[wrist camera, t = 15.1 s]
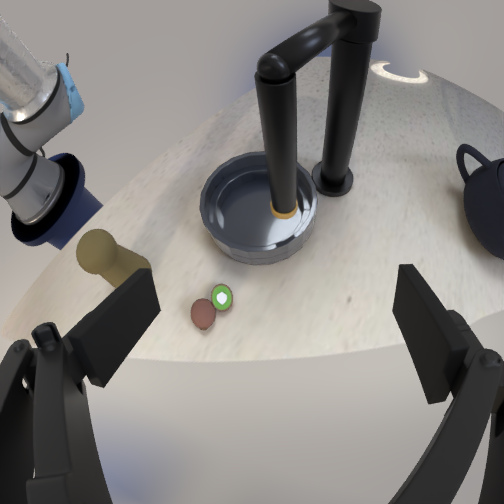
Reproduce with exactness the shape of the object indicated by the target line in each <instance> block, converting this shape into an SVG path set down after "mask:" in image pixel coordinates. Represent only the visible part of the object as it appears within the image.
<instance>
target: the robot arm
mask: <svg viewBox="0 0 504 504" xmlns="http://www.w3.org/2000/svg"><path fill="white" fill-rule="evenodd" d="M68 61H69V55H68V53H67V63H66V65H65V63H60V64H57V65H55V66H54V65H53V64H52V63H50V62H47V61H41V62H38V60H37V59H36V58H35V57H34V56H33V55H32V53H31V52H30V51H29V50H28V49H27V47H26V46H25V45H24V44H23V42H22V41H21V40H20V39H19V38H18V36H17V35H16V34H15V33H14V31H13V30H12V29H11V28H10V27H9V25H8V24H7V23H6V22H5V20H4V19H3V18H2V17H1V15H0V103H2V104H3V112H2V113H0V196H2V197H3V198H4V199H5V200H6V201H7V202H8V204H9V205H10V207H11V208H12V210H13V211H14V212H15V215H16V216H17V217H16V218H17V219H18V220H19V221H21V222H23V223H24V224H26V225H35V224H37V223H39V222H40V221H42V220H43V219H44V218H45V217H46V216H47V215H48V214H49V213H50V212H51V211H52V210H53V208H54V207H55V205H56V204H57V202H58V200H59V199H60V197H61V195H62V192H63V190H64V186H65V182H66V173H65V171H64V169H63V168H62V167H61V166H60V165H59V164H58V163H56V162H54V161H50V160H48V159H46V158H45V152H44V150H43V149H42V146H43V145H44V144H45V143H47V142H48V141H49V140H50V139H51V138H53V137H54V136H55V135H56V134H57V133H59V132H60V131H61V130H63V129H64V128H65V127H67V126H68V125H69V124H71V123H72V122H73V120H75V119H76V118H77V117H78V116H79V115H81V114H82V112H83V110H84V104H83V101H82V99H81V97H80V95H79V93H78V91H77V89H76V87H75V84H74V82H73V80H72V78H71V76H70V74H69V71H68V69H67V67H68ZM38 149H39V150H40V151H41V153H42V156H39V155H38V154H36V151H37V150H38ZM160 311H161V309H160V305H159V302H158V298H157V294H156V290H155V286H154V281H153V277H152V273H151V269H150V268H139V269H138V270H136V271H135V272H134V273H133V274H132V275H131V276H130V277H129V278H127V279H126V280H125V281H124V282H123V283H122V284H121V285H120V286H119V287H118V288H116V289H115V290H114V291H113V292H112V293H111V294H110V295H109V296H108V297H107V298H106V299H105V300H103V301H102V302H101V303H100V304H99V305H98V306H97V307H96V308H95V309H94V310H93V311H91V312H89V313H88V314H86V315H85V316H84V317H83V318H82V320H80V321H79V322H78V323H77V325H75V326H74V327H73V328H72V329H71V330H70V331H69V332H68V333H67V334H66V335H65V336H64V337H63V338H61V336H60V334H59V332H58V329H57V327H56V325H55V324H54V323H53V322H47V323H43V324H41V325H39V326H37V327H36V328H35V329H34V330H33V331H32V333H31V335H32V337H33V339H34V341H35V343H36V345H37V347H38V348H32V347H31V345H30V343H29V341H28V340H26V339H22V340H17V341H15V342H14V343H13V344H12V345H11V346H10V348H9V349H8V351H7V353H6V355H5V356H4V358H3V360H2V362H1V364H0V504H113V503H112V500H111V498H110V494H109V491H108V488H107V484H106V481H105V478H104V474H103V471H102V467H101V463H100V460H99V455H98V451H97V447H96V443H95V438H94V434H93V429H92V424H91V419H90V413H89V407H88V400H87V394H86V386H85V384H84V382H83V378H84V377H85V376H86V375H87V377H88V379H89V381H90V383H91V384H92V385H96V386H99V387H103V388H104V387H105V386H106V384H107V383H108V382H109V380H110V379H111V377H112V376H113V374H114V373H115V372H116V370H117V369H118V368H119V366H120V365H121V364H122V362H123V361H124V359H125V358H126V357H127V355H128V354H129V353H130V351H131V350H132V349H133V347H134V346H135V344H136V343H137V342H138V340H139V339H140V338H141V336H142V335H143V334H144V332H145V331H146V330H147V328H148V327H149V326H150V324H151V323H152V322H153V320H154V319H155V318H156V316H157V315H158V314H159V312H160ZM392 312H393V314H394V316H395V319H396V321H397V323H398V326H399V328H400V330H401V333H402V335H403V337H404V340H405V342H406V345H407V347H408V350H409V352H410V355H411V357H412V360H413V363H414V365H415V368H416V371H417V373H418V376H419V379H420V381H421V384H422V387H423V390H424V393H425V396H426V399H427V402H428V404H434V403H439V402H443V401H445V400H446V399H447V396H448V395H449V393H450V391H451V393H452V395H453V400H452V402H451V404H450V406H449V408H448V409H447V411H446V413H445V415H444V418H443V420H442V422H441V424H440V426H439V428H438V430H437V431H436V433H435V435H434V437H433V439H432V440H431V442H430V444H429V445H428V447H427V449H426V450H425V452H424V454H423V455H422V457H421V458H420V460H419V462H418V463H417V465H416V466H415V468H414V469H413V471H412V472H411V474H410V475H409V476H408V478H407V480H406V481H405V482H404V484H403V485H402V486H401V488H400V489H399V490H398V492H397V493H396V494H395V496H394V497H393V498H392V500H391V501H390V502H389V503H388V504H451V502H452V500H453V499H454V497H455V495H456V493H457V491H458V490H459V488H460V486H461V484H462V482H463V480H464V478H465V476H466V474H467V472H468V470H469V467H470V465H471V463H472V461H473V459H474V456H475V454H476V452H477V449H478V447H479V444H480V442H481V439H482V436H483V434H484V431H485V428H486V425H487V423H488V420H489V417H490V413H491V415H492V416H491V429H490V440H489V448H488V456H487V463H486V469H485V475H484V480H483V485H482V490H481V494H480V498H479V502H478V504H504V361H503V359H502V358H501V356H500V355H499V354H498V353H497V352H495V351H493V350H491V349H484V348H483V346H482V345H481V343H480V342H479V340H478V339H477V337H476V336H475V334H474V333H473V331H472V330H471V328H470V327H469V325H468V324H467V322H466V321H465V320H464V318H463V317H462V316H461V315H460V314H459V313H457V312H456V311H454V310H446V309H445V307H444V306H443V305H442V303H441V302H440V300H439V299H438V297H437V296H436V295H435V293H434V292H433V291H432V289H431V288H430V286H429V285H428V284H427V282H426V281H425V280H424V278H423V277H422V276H421V274H420V273H419V272H418V270H417V269H416V268H415V267H414V265H413V264H400V265H399V270H398V278H397V285H396V292H395V298H394V304H393V310H392ZM23 379H24V380H25V382H26V383H27V387H26V388H24V386H23V384H22V380H23ZM34 467H35V478H33V473H34Z"/></svg>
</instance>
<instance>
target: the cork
mask: <svg viewBox="0 0 504 504" xmlns="http://www.w3.org/2000/svg"><path fill="white" fill-rule="evenodd" d="M76 257H77V261H78V263H79V265H80V266H81V267H82V268H83V269H84V270H85V271H86V272H88V273H91V274H100V275H101V276H102V277H103V278H104V279H105V280H107V281H108V282H109V283H110V284H111V285H113V286H114V287H115V288H118V287H119V286H120V285H121V284H122V283H123V282H124V281H125V280H126V279H127V278H129V277H130V276H131V275H132V274H133V273H134V272H135V271H136V270H138V269H139V268H150V269H151V265H150V263H149V262H148V260H147V259H145V258H144V257H143V256H140V255H138V254H136V253H134V252H132V251H130V250H128V249H126V248H124V247H122V246H120V245H118V244H117V243H116V241H115V240H114V238H113V236H112V235H111V234H110V233H108V232H107V231H105V230H102V229H94V230H90V231H88V232H86V233H85V234H84V235H83V236H82V238H81V239H80V241H79V243H78V245H77V249H76ZM151 273H152V269H151Z"/></svg>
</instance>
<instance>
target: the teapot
mask: <svg viewBox="0 0 504 504" xmlns="http://www.w3.org/2000/svg"><path fill="white" fill-rule="evenodd" d="M464 153H468V154H470V155H471V156H472V157H474V158H475V159H476V160H477V161H479V162H480V163H481V164H482V166H481V167H479V168H478V169H476V170H475V171H474V172H473V173H472V174H471V175H470V176H469V174H468V172H467V170H466V167H465V164H464ZM456 160H457V165H458V168H459V171H460V174H461V176H462V178H463V180H464V182H465V184H466V185H465V188H464V208H465V213H466V216H467V219H468V222H469V224H470V227H471V229H472V231H473V232H474V234H475V236H476V237H477V239H478V240H479V241H480V243H481V244H482V245H483V246H484V247H485V248H486V249H487V250H488V251H489V252H490V253H492V254H493V255H495V256H496V257H498V258H500V259H503V260H504V158H502V159H498V160H495V161H492V162H490V161H489V160H488V159H487V158H486V157H485V156H484V155H482V154H481V153H480V152H479V151H478V150H476V149H475V148H473V147H472V146H470V145H468V144H462V145H460V147H459V148H458V150H457V154H456Z"/></svg>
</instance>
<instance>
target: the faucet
mask: <svg viewBox="0 0 504 504" xmlns="http://www.w3.org/2000/svg"><path fill="white" fill-rule="evenodd" d="M371 49H372V42H371V43H356V42H351V41H347V40H343V39H338V40H337V41H336V42H334V43H333V44H332V53H331V69H330V83H329V96H328V108H327V118H326V129H325V138H324V147H323V156H322V161H321V162H319V163H318V164H317V165H316V166H315V167H314V168H313V171H312V180H313V182H314V184H315V186H316V189H317V190H318V191H319V192H320V193H322V194H324V195H326V196H330V197H339V196H342V195H344V194H346V193H347V192H348V191H349V190H350V189H351V187H352V184H353V174H352V172H351V170H350V169H349V167H348V165H349V161H350V157H351V152H352V148H353V144H354V139H355V135H356V130H357V125H358V121H359V116H360V111H361V106H362V101H363V96H364V90H365V85H366V79H367V74H368V68H369V62H370V55H371Z"/></svg>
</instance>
